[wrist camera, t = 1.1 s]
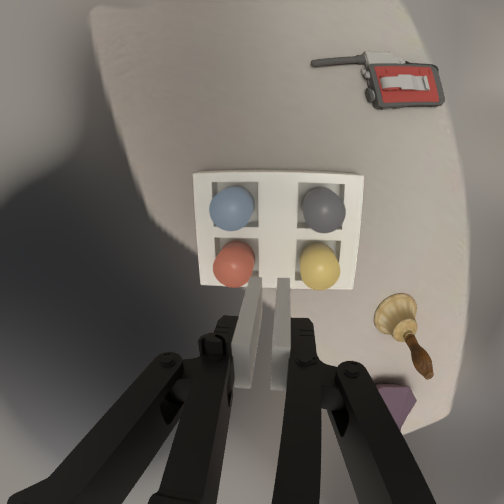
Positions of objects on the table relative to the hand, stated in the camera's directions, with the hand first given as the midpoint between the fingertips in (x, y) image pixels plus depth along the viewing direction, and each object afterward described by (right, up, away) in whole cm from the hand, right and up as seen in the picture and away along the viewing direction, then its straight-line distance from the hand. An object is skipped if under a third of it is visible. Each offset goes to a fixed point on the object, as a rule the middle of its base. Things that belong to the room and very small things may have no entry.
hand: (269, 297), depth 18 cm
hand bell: (+24, -8, +27) cm, 37 cm away
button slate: (-3, +9, +19) cm, 22 cm away
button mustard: (+8, +2, +21) cm, 22 cm away
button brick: (-3, +2, +22) cm, 22 cm away
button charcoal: (+8, +9, +18) cm, 22 cm away
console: (+3, +7, +23) cm, 25 cm away
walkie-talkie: (+17, +27, +15) cm, 36 cm away
